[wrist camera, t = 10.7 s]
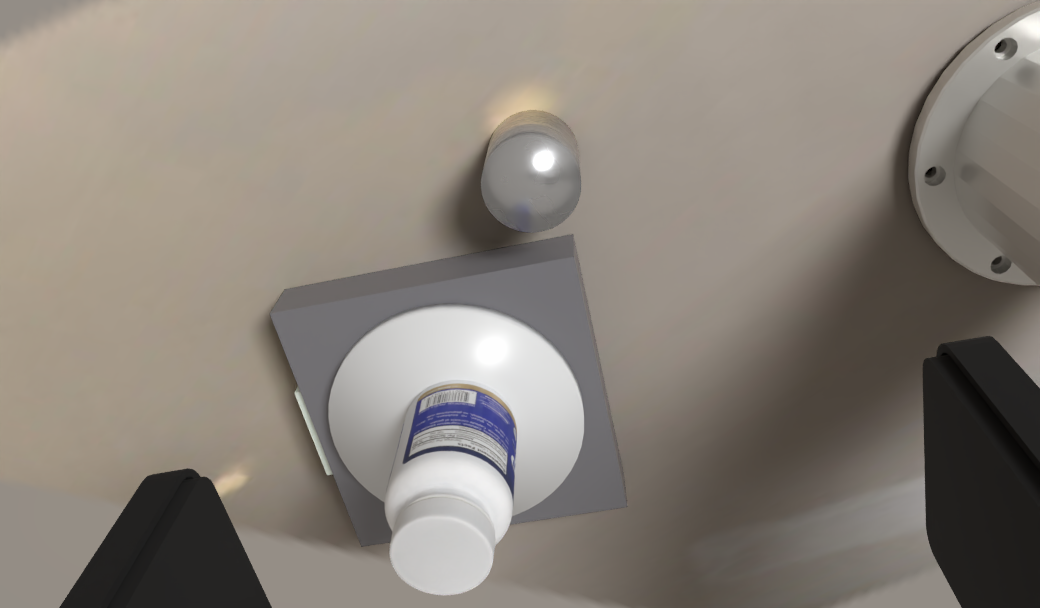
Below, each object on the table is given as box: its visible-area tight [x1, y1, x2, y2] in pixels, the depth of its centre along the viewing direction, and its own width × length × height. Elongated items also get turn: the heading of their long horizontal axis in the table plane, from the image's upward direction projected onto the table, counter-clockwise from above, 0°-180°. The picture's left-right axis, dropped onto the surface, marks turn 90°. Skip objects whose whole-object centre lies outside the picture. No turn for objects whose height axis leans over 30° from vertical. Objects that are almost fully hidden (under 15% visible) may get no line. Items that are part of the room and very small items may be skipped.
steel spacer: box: [481, 110, 581, 232], centre depth 37 cm, size 4×4×4 cm
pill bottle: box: [385, 380, 517, 595], centre depth 37 cm, size 5×5×9 cm
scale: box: [270, 234, 627, 547], centre depth 43 cm, size 14×14×3 cm
